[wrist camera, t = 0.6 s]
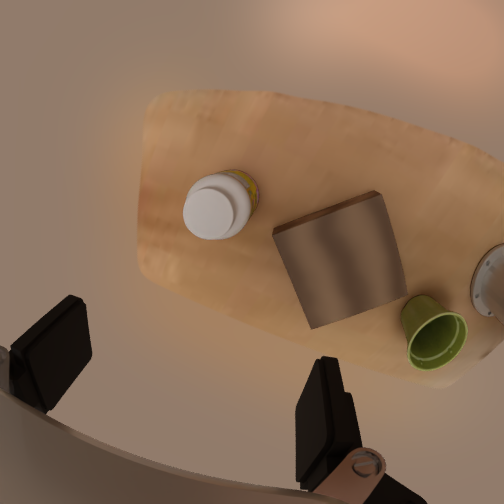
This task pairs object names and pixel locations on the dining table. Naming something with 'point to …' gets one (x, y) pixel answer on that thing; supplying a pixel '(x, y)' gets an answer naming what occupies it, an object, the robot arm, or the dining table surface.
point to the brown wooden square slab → (342, 259)
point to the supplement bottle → (220, 204)
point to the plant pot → (432, 333)
